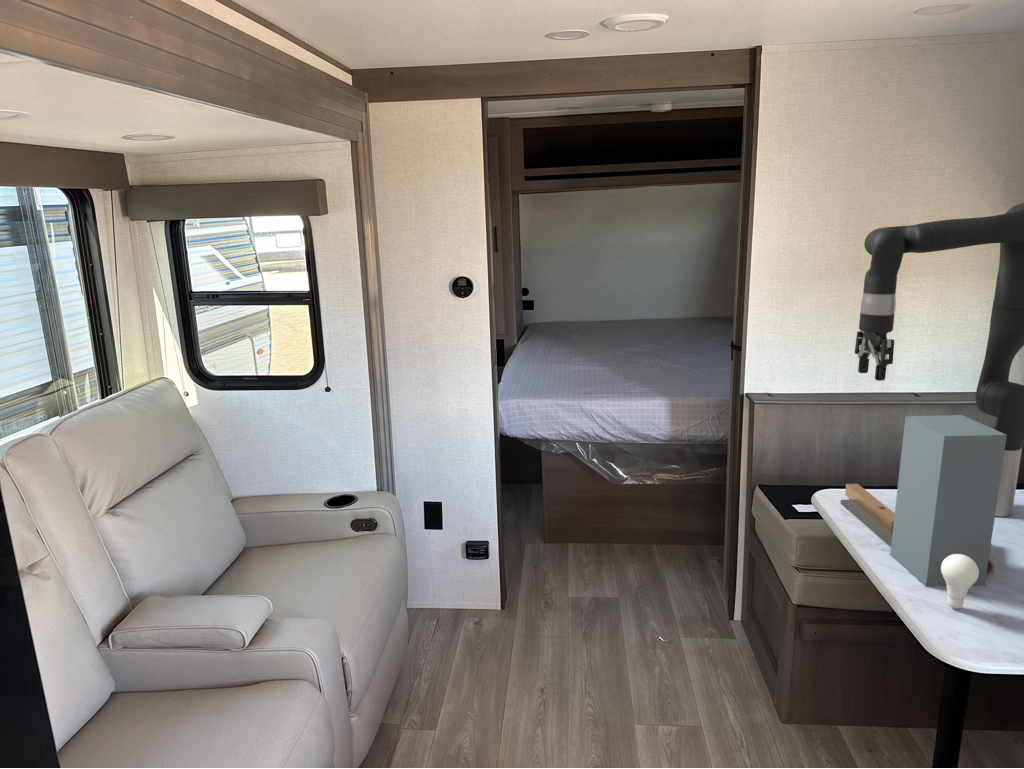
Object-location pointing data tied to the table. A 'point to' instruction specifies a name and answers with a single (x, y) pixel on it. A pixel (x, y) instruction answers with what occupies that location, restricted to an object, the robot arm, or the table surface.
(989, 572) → the coil
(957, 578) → the lightbulb
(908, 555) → the tall grey-blue box
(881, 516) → the wooden plank with hole
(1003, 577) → the table surface
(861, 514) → the rubber mat
